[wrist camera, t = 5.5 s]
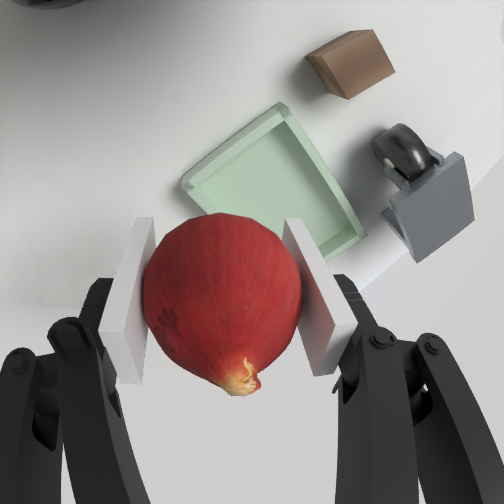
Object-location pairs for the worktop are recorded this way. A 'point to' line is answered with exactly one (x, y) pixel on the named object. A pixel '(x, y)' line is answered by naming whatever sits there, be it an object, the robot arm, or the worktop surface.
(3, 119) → the worktop surface
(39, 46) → the worktop surface
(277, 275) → the onion
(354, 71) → the block
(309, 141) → the tray
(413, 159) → the caster wheel
